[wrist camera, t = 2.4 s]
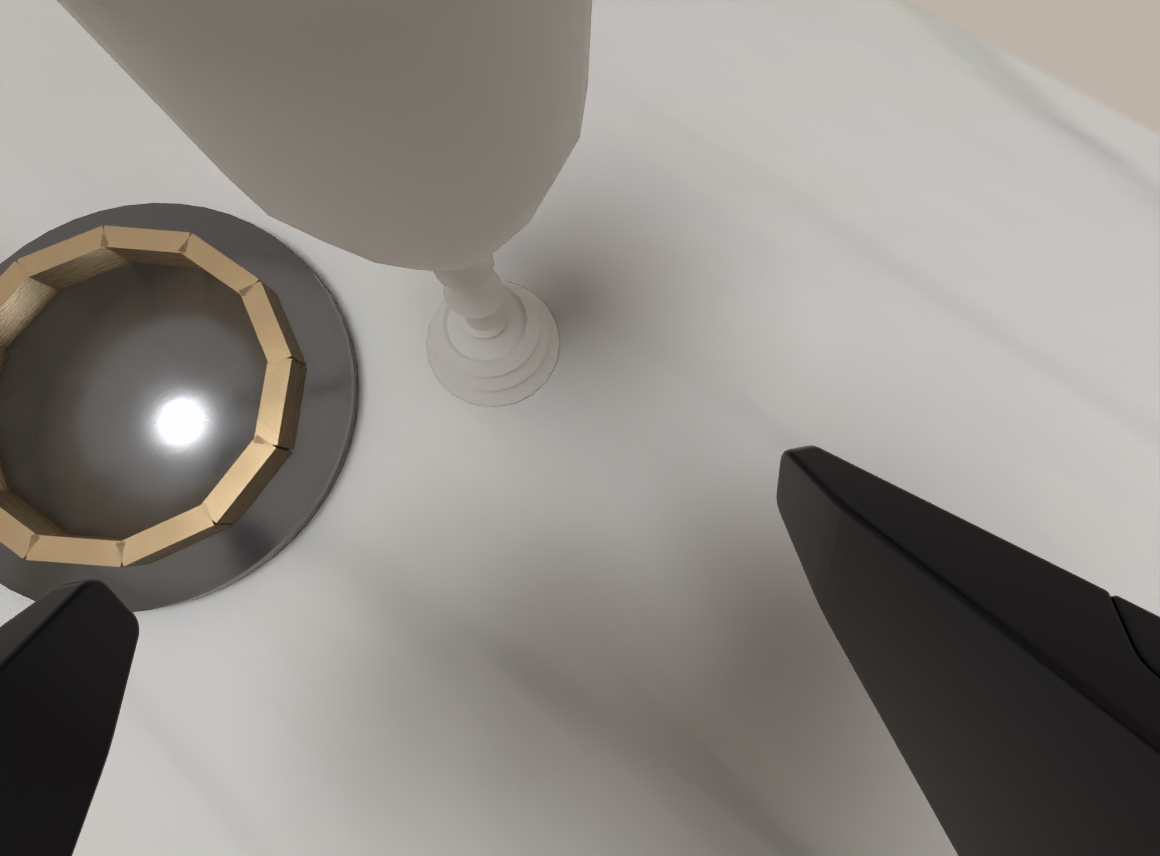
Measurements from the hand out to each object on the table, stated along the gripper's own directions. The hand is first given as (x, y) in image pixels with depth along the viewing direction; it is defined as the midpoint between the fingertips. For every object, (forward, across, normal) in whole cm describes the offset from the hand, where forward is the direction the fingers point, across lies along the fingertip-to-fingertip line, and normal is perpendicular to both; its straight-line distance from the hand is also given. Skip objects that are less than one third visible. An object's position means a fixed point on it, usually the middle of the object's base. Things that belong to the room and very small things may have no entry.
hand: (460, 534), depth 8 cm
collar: (+15, +13, +4) cm, 20 cm away
